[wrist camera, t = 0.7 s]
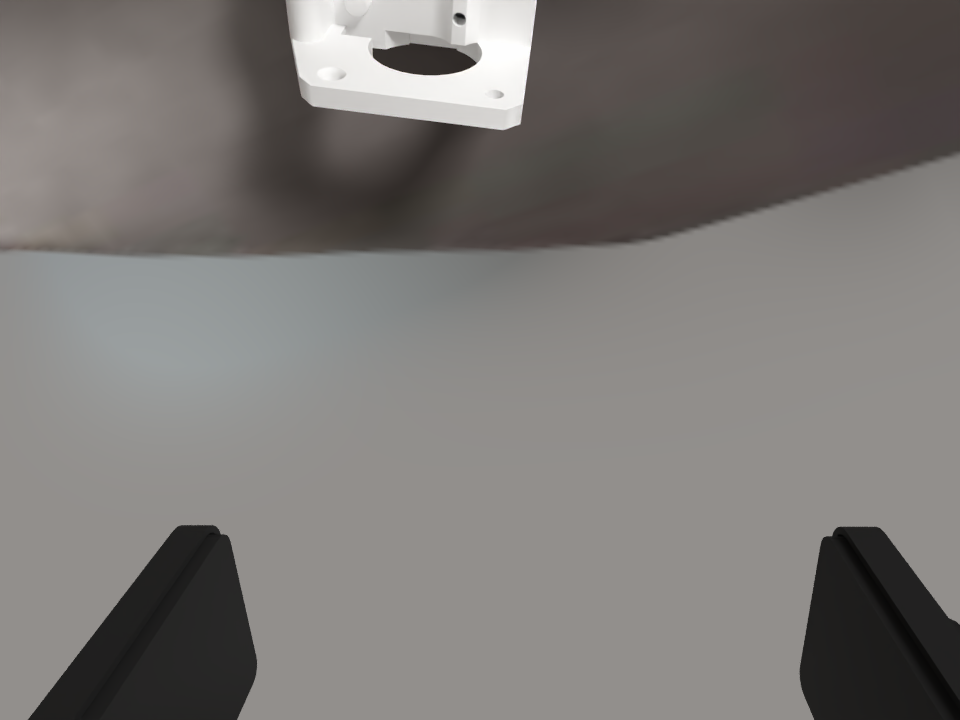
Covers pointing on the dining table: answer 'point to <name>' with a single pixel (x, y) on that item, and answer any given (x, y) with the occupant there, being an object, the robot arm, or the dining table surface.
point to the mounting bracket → (421, 20)
